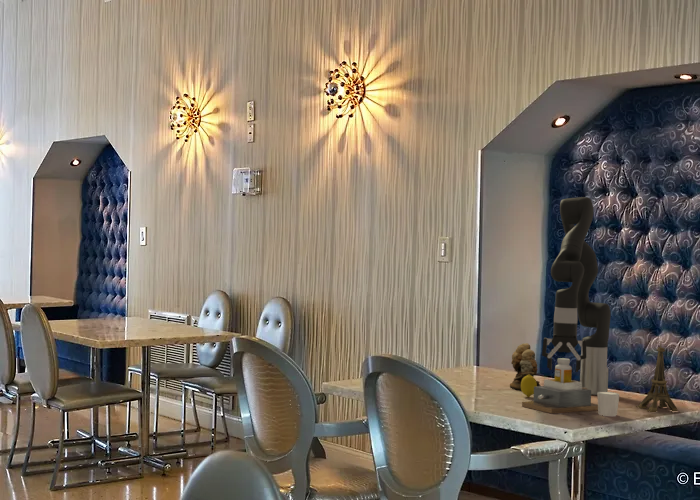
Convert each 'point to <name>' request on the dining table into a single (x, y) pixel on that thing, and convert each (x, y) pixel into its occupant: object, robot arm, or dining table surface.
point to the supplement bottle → (563, 371)
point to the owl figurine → (523, 365)
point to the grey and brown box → (561, 397)
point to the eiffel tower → (658, 388)
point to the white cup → (607, 403)
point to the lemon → (528, 385)
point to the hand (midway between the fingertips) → (563, 370)
